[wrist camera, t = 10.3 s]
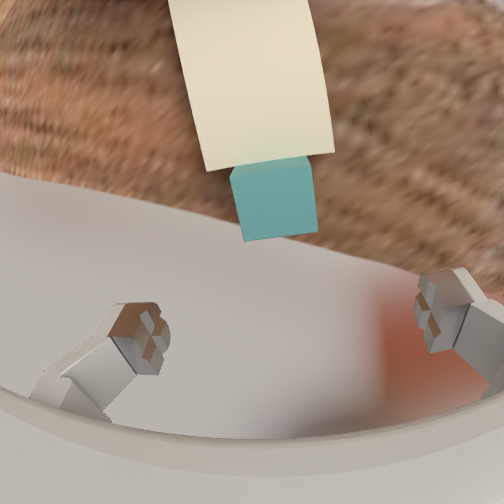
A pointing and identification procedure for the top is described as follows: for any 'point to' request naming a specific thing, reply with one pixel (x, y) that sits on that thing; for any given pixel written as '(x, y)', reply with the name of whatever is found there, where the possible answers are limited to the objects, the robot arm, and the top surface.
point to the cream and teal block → (257, 105)
